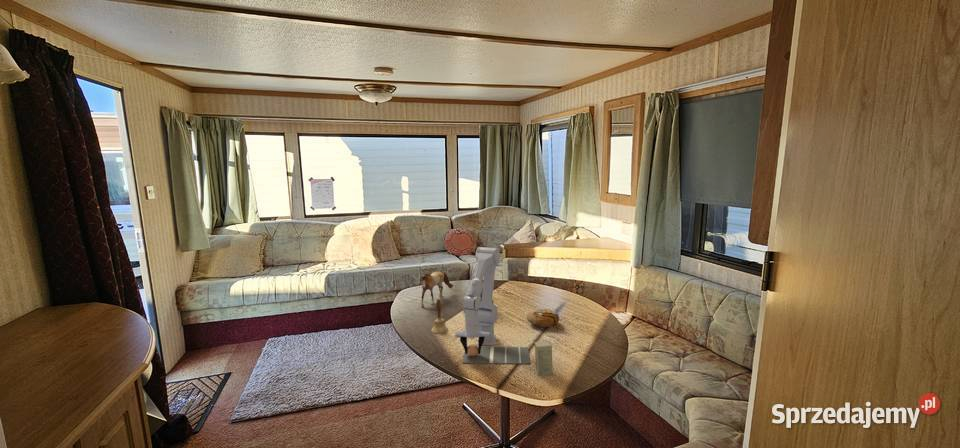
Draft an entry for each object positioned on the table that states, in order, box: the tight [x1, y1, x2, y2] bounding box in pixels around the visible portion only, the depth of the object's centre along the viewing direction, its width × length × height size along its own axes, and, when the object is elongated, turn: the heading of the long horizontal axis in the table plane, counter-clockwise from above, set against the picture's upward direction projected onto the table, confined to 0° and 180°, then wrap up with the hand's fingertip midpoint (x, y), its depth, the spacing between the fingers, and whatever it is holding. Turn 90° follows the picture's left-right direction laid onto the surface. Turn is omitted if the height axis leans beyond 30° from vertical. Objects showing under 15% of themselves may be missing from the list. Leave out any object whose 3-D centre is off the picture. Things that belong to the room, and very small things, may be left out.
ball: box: [467, 343, 479, 356], centre depth 167 cm, size 5×5×5 cm
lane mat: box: [461, 346, 531, 365], centre depth 168 cm, size 14×28×1 cm, turn 86°
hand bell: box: [431, 298, 449, 335], centre depth 193 cm, size 8×8×16 cm
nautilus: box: [525, 308, 565, 331], centre depth 194 cm, size 8×22×15 cm
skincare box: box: [534, 340, 554, 376], centre depth 153 cm, size 6×4×12 cm
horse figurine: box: [420, 271, 455, 308], centre depth 233 cm, size 31×8×21 cm, turn 152°
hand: (473, 353), depth 167 cm, fingers closed on ball, 5 cm apart
